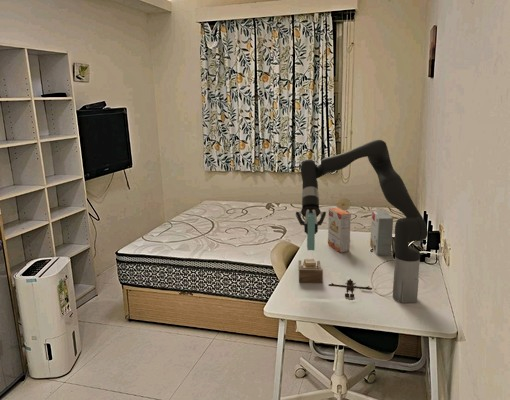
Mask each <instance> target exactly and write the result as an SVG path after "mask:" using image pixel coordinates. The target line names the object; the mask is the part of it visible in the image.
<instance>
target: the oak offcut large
mask: <svg viewBox="0 0 510 400" xmlns="http://www.w3.org/2000/svg"><path fill="white" fill-rule="evenodd" d="M302 265H303V269H317V267H306V266H305V264H304V261H303V262H302Z"/></svg>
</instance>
